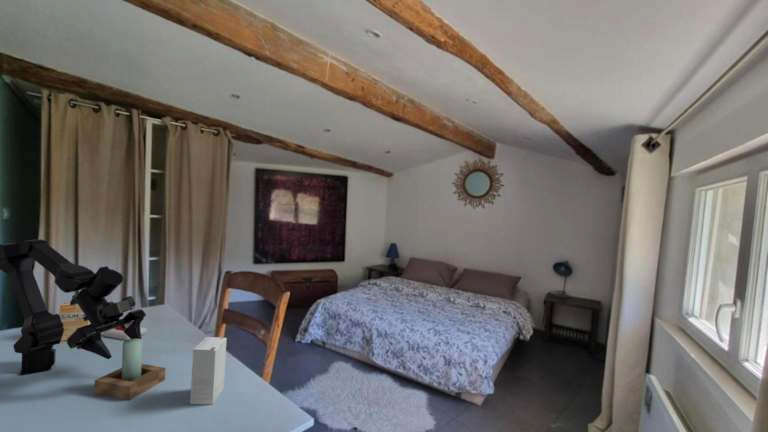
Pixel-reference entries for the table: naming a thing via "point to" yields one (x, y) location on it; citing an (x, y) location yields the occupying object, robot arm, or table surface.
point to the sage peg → (131, 359)
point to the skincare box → (208, 370)
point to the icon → (121, 333)
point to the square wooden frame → (129, 382)
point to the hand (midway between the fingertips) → (126, 351)
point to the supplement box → (71, 319)
